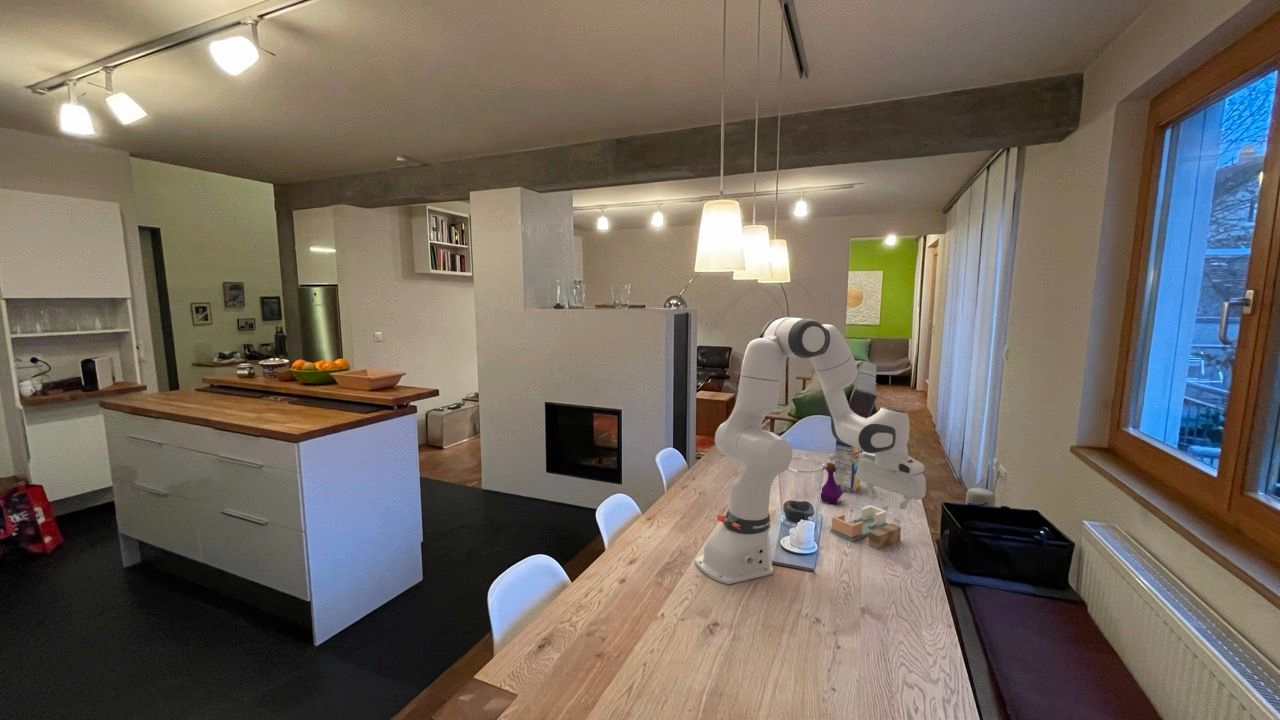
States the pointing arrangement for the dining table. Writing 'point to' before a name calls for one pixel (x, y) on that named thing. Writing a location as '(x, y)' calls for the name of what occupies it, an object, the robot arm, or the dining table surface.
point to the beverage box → (846, 467)
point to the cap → (846, 526)
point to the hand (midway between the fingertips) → (887, 503)
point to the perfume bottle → (831, 484)
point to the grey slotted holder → (867, 522)
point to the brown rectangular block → (884, 536)
